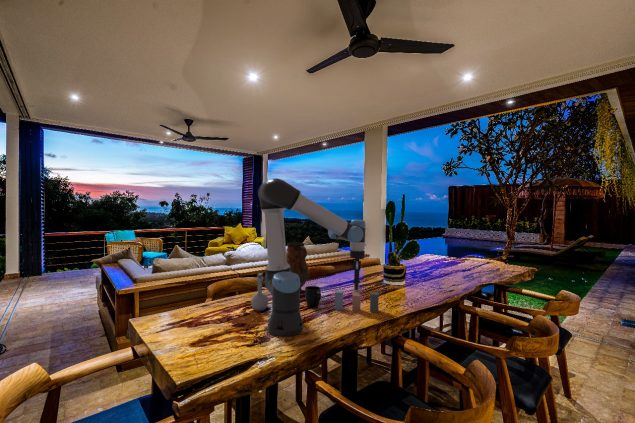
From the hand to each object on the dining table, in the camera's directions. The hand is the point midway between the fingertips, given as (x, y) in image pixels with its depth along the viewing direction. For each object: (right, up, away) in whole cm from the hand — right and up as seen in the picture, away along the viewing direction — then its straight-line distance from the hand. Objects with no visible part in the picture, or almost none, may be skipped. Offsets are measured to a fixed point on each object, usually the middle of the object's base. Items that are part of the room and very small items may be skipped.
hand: (356, 295), depth 153 cm
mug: (-22, -7, +3) cm, 23 cm away
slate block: (-9, -7, +1) cm, 11 cm away
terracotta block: (0, -7, -1) cm, 7 cm away
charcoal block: (+9, -7, -2) cm, 12 cm away
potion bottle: (-50, -6, -1) cm, 50 cm away
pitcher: (-33, -6, +27) cm, 43 cm away
